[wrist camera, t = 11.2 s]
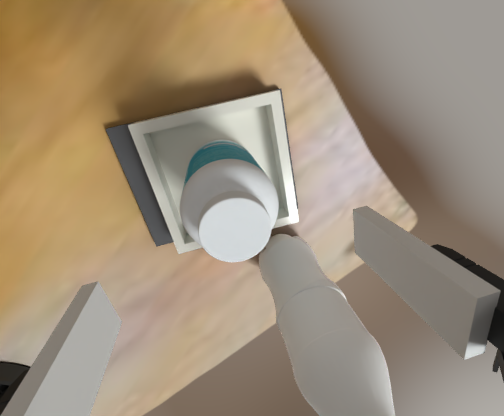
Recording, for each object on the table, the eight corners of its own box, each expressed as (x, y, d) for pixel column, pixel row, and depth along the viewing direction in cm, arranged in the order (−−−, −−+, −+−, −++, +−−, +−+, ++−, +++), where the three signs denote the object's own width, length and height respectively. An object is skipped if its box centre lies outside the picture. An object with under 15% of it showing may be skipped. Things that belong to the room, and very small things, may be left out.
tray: (180, 239, 31) (178, 254, 29) (135, 122, 25) (127, 125, 23) (290, 210, 32) (298, 221, 30) (271, 90, 26) (279, 90, 24)
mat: (157, 243, 32) (156, 246, 31) (108, 128, 26) (105, 129, 25) (296, 206, 33) (298, 208, 32) (279, 88, 27) (281, 88, 26)
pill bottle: (174, 158, 27) (148, 209, 15) (237, 125, 27) (265, 150, 14) (209, 215, 30) (211, 296, 18) (265, 186, 30) (308, 249, 18)
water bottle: (305, 267, 37) (459, 531, 15) (256, 275, 36) (341, 568, 14) (306, 224, 34) (502, 468, 12) (253, 231, 34) (356, 510, 11)
